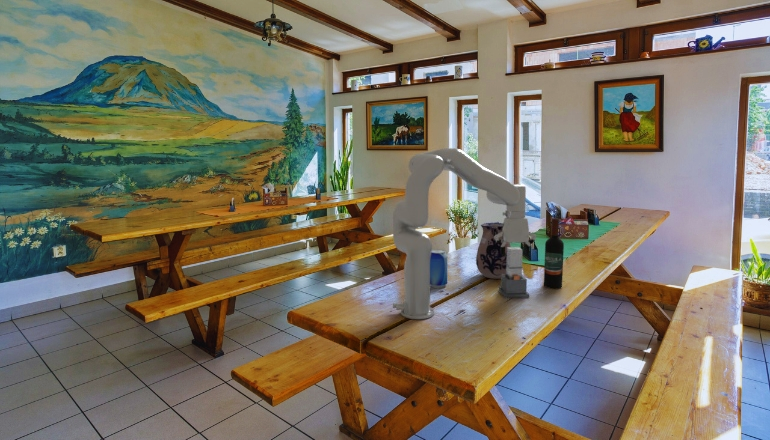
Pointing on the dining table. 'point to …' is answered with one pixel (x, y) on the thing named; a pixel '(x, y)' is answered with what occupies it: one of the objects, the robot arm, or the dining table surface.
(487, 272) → the ceramic pitcher
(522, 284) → the stand base
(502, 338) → the dining table surface
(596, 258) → the dining table surface
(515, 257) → the column
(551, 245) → the wine bottle
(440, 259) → the beer can
